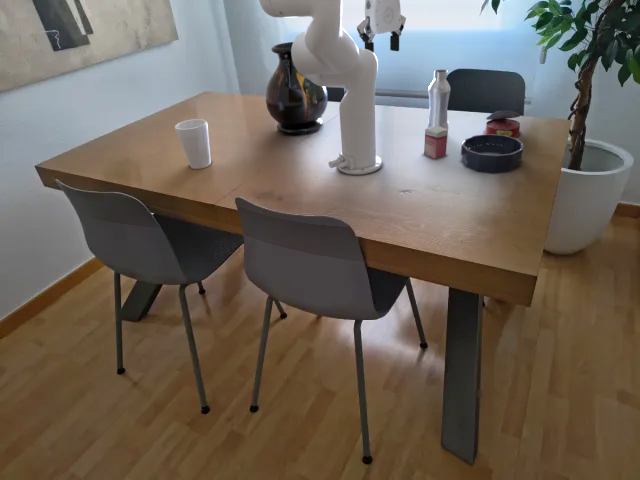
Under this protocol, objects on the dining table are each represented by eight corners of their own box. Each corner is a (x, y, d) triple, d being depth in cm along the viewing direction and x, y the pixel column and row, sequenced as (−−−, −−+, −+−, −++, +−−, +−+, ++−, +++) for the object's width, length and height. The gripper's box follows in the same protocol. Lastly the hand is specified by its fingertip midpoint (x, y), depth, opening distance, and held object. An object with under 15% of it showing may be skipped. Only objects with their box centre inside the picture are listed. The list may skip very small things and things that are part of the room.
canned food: (484, 149, 142) (472, 120, 139) (501, 136, 146) (490, 108, 144) (516, 140, 132) (503, 109, 130) (533, 127, 136) (521, 97, 134)
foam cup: (185, 173, 135) (174, 131, 128) (185, 161, 142) (174, 122, 135) (216, 167, 136) (207, 126, 129) (214, 156, 144) (205, 117, 137)
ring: (496, 178, 114) (498, 160, 111) (449, 162, 125) (450, 145, 122) (532, 161, 121) (535, 143, 118) (485, 146, 132) (487, 130, 129)
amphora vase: (324, 138, 149) (316, 49, 134) (263, 139, 153) (249, 53, 138) (334, 117, 167) (328, 37, 151) (278, 119, 171) (268, 41, 156)
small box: (423, 154, 131) (424, 128, 126) (434, 150, 133) (435, 125, 128) (435, 159, 127) (437, 133, 123) (446, 155, 129) (448, 129, 125)
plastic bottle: (442, 141, 138) (447, 74, 127) (422, 137, 142) (425, 72, 131) (451, 134, 142) (456, 69, 132) (431, 131, 146) (434, 67, 135)
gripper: (365, -10, 113) (367, 61, 122) (414, -18, 121) (413, 49, 130) (347, -10, 118) (350, 58, 128) (395, -18, 126) (395, 47, 135)
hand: (382, 53), depth 129 cm, fingers open, 9 cm apart
